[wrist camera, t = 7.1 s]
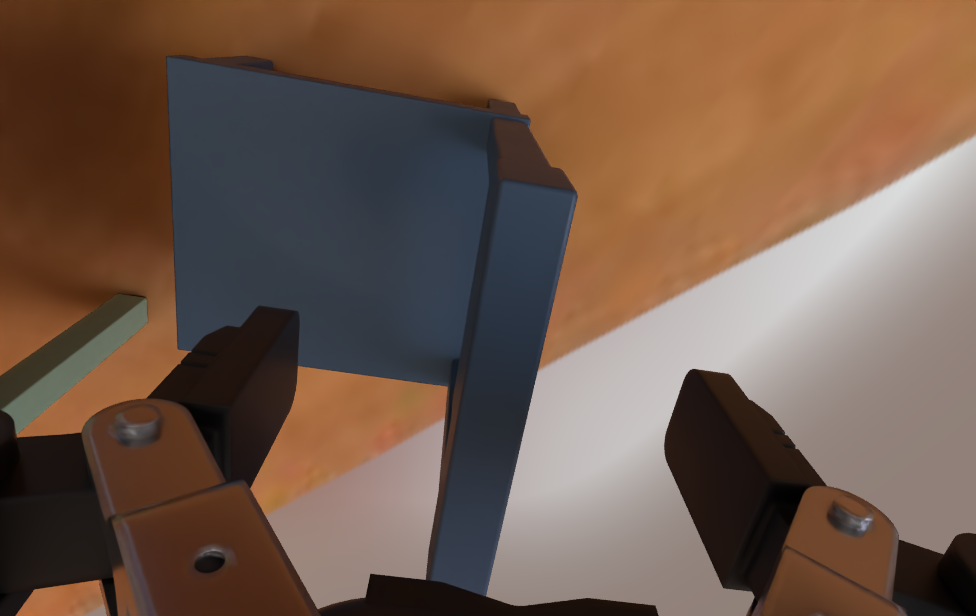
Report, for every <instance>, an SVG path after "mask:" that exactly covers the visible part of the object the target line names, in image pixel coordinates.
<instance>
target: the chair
mask: <svg viewBox="0 0 976 616" xmlns="http://www.w3.org/2000/svg"><path fill="white" fill-rule="evenodd" d="M166 66H167V91H168V116H169V142H170V167H171V192H172V217H173V242H174V267H175V292H176V318H177V343H178V349H179V350H186V351H192V349H193V348H194V347H195V346H196V345H197V344H198V343H199V341H200V340H201V339H202V338H203V337H204V336H205V335H208V334H210V333H212V332H214V331H216V330H218V329H220V328H222V327H225V326H227V325H228V326H235V327H241V326H242V324H243V323H244V322H245V321H246V320H247V318H248V317H249V316H250V315H251V314H252V312H253V311H254V310H255V309H256V308H257V307H258V306H259V305H260V306H267V307H274V308H281V309H288V310H295V311H298V313H299V317H300V329H299V349H298V366H302V367H310V368H317V369H324V370H331V371H339V372H346V373H353V374H361V375H368V376H375V377H382V378H390V379H397V380H404V381H412V382H419V383H426V384H433V385H441V386H448V391H447V403H446V414H445V425H444V436H443V448H442V459H441V470H440V483H439V493H438V499H437V505H436V511H435V516H434V523H433V528H432V534H431V540H430V546H429V554H428V563H427V574H426V580H430V581H439V582H444V583H447V584H450V585H453V586H456V587H459V588H462V589H465V590H468V591H471V592H474V593H477V594H480V595H483V596H486V594H487V589H488V585H489V581H490V576H491V572H492V567H493V563H494V559H495V554H496V550H497V545H498V541H499V537H500V533H501V528H502V524H503V519H504V515H505V510H506V506H507V502H508V498H509V493H510V489H511V485H512V480H513V476H514V472H515V467H516V463H517V458H518V454H519V450H520V445H521V441H522V437H523V432H524V428H525V424H526V419H527V415H528V411H529V406H530V402H531V398H532V393H533V388H534V385H535V380H536V376H537V371H538V367H539V363H540V358H541V354H542V350H543V345H544V341H545V337H546V332H547V328H548V324H549V319H550V315H551V311H552V306H553V302H554V297H555V293H556V289H557V284H558V280H559V276H560V271H561V267H562V263H563V258H564V254H565V250H566V245H567V241H568V236H569V232H570V228H571V223H572V219H573V215H574V210H575V206H576V202H577V197H578V196H577V192H576V190H575V189H574V187H573V186H572V184H571V182H570V181H569V179H568V178H567V176H566V175H565V173H564V172H563V170H561V169H559V168H554V167H551V166H550V165H549V163H548V161H547V159H546V158H545V156H544V154H543V152H542V151H541V149H540V147H539V145H538V144H537V142H536V140H535V138H534V137H533V135H532V133H531V132H530V130H529V127H530V118H529V117H528V116H527V115H523V114H520V112H519V110H518V108H517V107H516V105H515V104H514V103H511V102H505V101H499V100H494V99H489V101H488V106H487V108H483V107H477V106H471V105H465V104H460V103H454V102H448V101H443V100H437V99H431V98H425V97H420V96H414V95H408V94H403V93H397V92H391V91H385V90H380V89H374V88H368V87H363V86H357V85H351V84H345V83H340V82H334V81H328V80H323V79H317V78H311V77H305V76H300V75H294V74H288V73H283V72H277V71H273V61H271V60H267V59H261V58H256V57H250V56H236V57H220V58H205V59H203V58H197V57H191V56H185V55H174V56H166Z"/></svg>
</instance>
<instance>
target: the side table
mask: <svg viewBox="0 0 976 616" xmlns="http://www.w3.org/2000/svg"><path fill="white" fill-rule="evenodd" d="M147 323H148V315H147V299H146V298H143V297H137V296H130V295H123V294H117V295H115V296H114V297H112V298H111V299H110V300H108V301H107V302H105V303H104V304H102V305H101V306H100V307H98V308H97V309H95V310H94V311H92V312H91V313H90V314H88V315H87V316H85V317H84V318H82V319H81V320H80V321H78V322H77V323H75V324H74V325H72V326H71V327H70V328H68V329H67V330H65V331H64V332H62V333H61V334H60V335H58V336H57V337H55V338H54V339H52V340H51V341H50V342H48V343H47V344H45V345H44V346H42V347H41V348H40V349H38V350H37V351H35V352H34V353H32V354H31V355H30V356H28V357H27V358H25V359H24V360H22V361H21V362H20V363H18V364H17V365H15V366H14V367H12V368H11V369H10V370H8V371H7V372H5V373H4V374H2V375H1V376H0V410H2V411H4V412H6V413H8V414H9V415H10V416H11V417H12V418H13V420H14V424H15V429H16V435H17V434H18V433H19V432H20V431H22V430H23V429H24V428H25V427H26V426H27V425H29V424H30V423H31V422H32V421H33V420H35V419H36V418H37V417H38V416H39V415H40V414H42V413H43V412H44V411H45V410H46V409H47V408H49V407H50V406H51V405H52V404H53V403H54V402H56V401H57V400H58V399H59V398H60V397H62V396H63V395H64V394H65V393H66V392H67V391H69V390H70V389H71V388H72V387H73V386H74V385H76V384H77V383H78V382H79V381H80V380H81V379H83V378H84V377H85V376H86V375H87V374H89V373H90V372H91V371H92V370H93V369H94V368H96V367H97V366H98V365H99V364H100V363H101V362H103V361H104V360H105V359H106V358H107V357H108V356H110V355H111V354H112V353H113V352H114V351H116V350H117V349H118V348H119V347H120V346H121V345H123V344H124V343H125V342H126V341H127V340H128V339H130V338H131V337H132V336H133V335H134V334H135V333H137V332H138V331H139V330H140V329H141V328H142V327H144V326H145V325H146V324H147Z"/></svg>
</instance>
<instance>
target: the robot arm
mask: <svg viewBox="0 0 976 616" xmlns="http://www.w3.org/2000/svg"><path fill="white" fill-rule="evenodd" d="M299 329H300V317H299V313H298V311H295V310H288V309H281V308H274V307H267V306H260V305H259V306H258V307H257V308H256V309H255V310H254V311H253V312H252V314H251V315H250V316H249V317H248V318H247V320H246V321H245V322H244V323H243V324H242V326H241V327H235V326H228V325H227V326H225V327H222V328H220V329H218V330H216V331H214V332H212V333H210V334H208V335H205V336H204V337H203V338H202V339H201V340H200V341H199V343H198V344H197V345H196V346H195V347H194V348H193V349H192V352H191V353H188V354H187V355H186V356H185V358H184V359H183V360H182V361H181V364H178V365H177V366H176V367H175V368H174V369H173V370H172V372H171V373H170V374H169V375H168V376H167V377H166V378H165V379H164V380H163V381H162V382H161V383H160V384H159V386H158V387H157V388H156V389H155V390H154V391H153V392H152V393H151V394H150V395H149V396H148V397H147V398H146V399H136V400H129V401H125V402H121V403H118V404H115V405H112V406H109V407H107V408H105V409H103V410H101V411H99V412H97V413H96V414H95V415H93V416H92V417H91V418H90V419H89V420H88V421H87V422H86V423H85V425H84V427H83V429H82V432H81V433H74V434H63V435H48V436H34V437H19V438H17V435H16V429H15V424H14V420H13V418H12V417H11V416H10V415H9V414H8V413H6V412H4V411H2V410H0V616H15V615H16V614H17V613H18V611H19V610H20V609H21V607H22V606H23V604H24V603H25V602H26V600H27V599H28V598H29V596H30V595H31V593H32V592H33V590H34V589H40V588H47V587H53V586H60V585H67V584H74V583H80V582H87V581H94V580H99V585H100V589H101V593H102V597H103V601H104V605H105V609H106V614H107V616H658V613H657V609H656V606H654V605H645V604H636V603H627V602H617V601H609V600H600V599H591V598H585V599H576V600H568V601H560V602H552V603H544V604H537V605H528V606H514V605H510V604H507V603H503V602H501V601H498V600H495V599H491V598H489V597H486V596H483V595H480V594H477V593H474V592H471V591H468V590H465V589H462V588H459V587H456V586H453V585H450V584H447V583H444V582H439V581H430V580H421V579H412V578H403V577H394V576H385V575H375V574H370V578H369V584H368V588H367V594H366V598H360V599H352V600H348V601H344V602H339V603H335V604H331V605H329V606H326V607H323V608H320V609H317V608H316V606H315V604H314V602H313V600H312V599H311V597H310V595H309V593H308V592H307V590H306V588H305V586H304V584H303V583H302V581H301V579H300V577H299V575H298V574H297V572H296V570H295V568H294V566H293V565H292V563H291V561H290V559H289V558H288V556H287V554H286V552H285V550H284V549H283V547H282V545H281V543H280V541H279V540H278V538H277V536H276V534H275V533H274V531H273V529H272V527H271V525H270V524H269V522H268V520H267V518H266V516H265V515H264V513H263V511H262V509H261V507H260V506H259V504H258V502H257V500H256V499H255V497H254V495H253V493H252V491H251V490H250V488H251V486H252V484H253V482H254V480H255V478H256V476H257V474H258V472H259V470H260V468H261V466H262V464H263V462H264V460H265V458H266V456H267V454H268V453H269V451H270V449H271V447H272V445H273V443H274V441H275V439H276V437H277V435H278V433H279V431H280V429H281V427H282V425H283V423H284V421H285V419H286V417H287V415H288V413H289V411H290V409H291V406H292V403H293V400H294V396H295V391H296V384H297V369H298V349H299ZM664 450H665V457H666V461H667V463H668V466H669V468H670V470H671V472H672V475H673V477H674V479H675V481H676V483H677V485H678V488H679V490H680V493H681V495H682V497H683V499H684V501H685V504H686V506H687V508H688V510H689V512H690V515H691V517H692V519H693V522H694V524H695V526H696V528H697V531H698V533H699V535H700V537H701V539H702V542H703V544H704V546H705V548H706V551H707V553H708V555H709V557H710V560H711V562H712V564H713V566H714V569H715V571H716V573H717V575H718V577H719V580H720V582H721V584H722V586H723V588H726V589H735V590H743V591H752V592H753V594H754V596H755V598H754V600H753V602H752V604H751V606H750V608H749V610H748V613H747V615H746V616H976V534H972V533H963V534H959V535H957V536H956V537H955V538H954V539H953V541H952V543H951V544H950V546H949V547H948V549H947V551H946V552H945V554H944V555H943V554H940V553H937V552H934V551H931V550H928V549H925V548H922V547H919V546H916V545H914V544H911V543H907V542H905V541H902V540H899V535H898V532H897V530H896V528H895V526H894V524H893V523H892V522H891V521H890V520H889V518H888V517H887V516H886V515H884V514H883V513H882V512H881V511H880V510H878V509H877V508H876V507H875V506H873V505H872V504H870V503H869V502H867V501H865V500H864V499H862V498H860V497H858V496H856V495H854V494H852V493H849V492H847V491H844V490H841V489H838V488H834V487H828V486H827V485H826V484H825V483H824V482H823V480H822V479H821V478H820V476H819V475H818V474H817V473H816V471H815V470H814V469H813V467H812V466H811V465H810V464H809V462H808V461H807V460H806V459H805V457H804V456H803V455H802V453H801V452H800V451H799V450H798V449H795V445H794V443H793V442H792V441H791V439H790V438H789V437H788V436H787V435H785V432H784V430H783V429H782V428H781V427H780V425H779V424H778V423H777V421H776V420H775V419H774V418H773V416H771V415H770V414H769V413H768V412H766V411H765V410H764V409H762V408H761V407H760V406H758V405H757V404H755V403H754V402H753V401H751V400H749V399H748V398H747V396H746V395H745V394H744V392H743V391H742V390H741V388H740V387H739V386H738V384H737V383H736V382H735V380H734V379H733V378H732V377H731V375H729V374H725V373H718V372H711V371H704V370H698V369H692V370H690V371H689V372H688V374H687V375H686V377H685V379H684V381H683V384H682V387H681V390H680V393H679V396H678V399H677V402H676V405H675V407H674V410H673V413H672V416H671V419H670V422H669V425H668V428H667V431H666V435H665V443H664Z"/></svg>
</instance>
